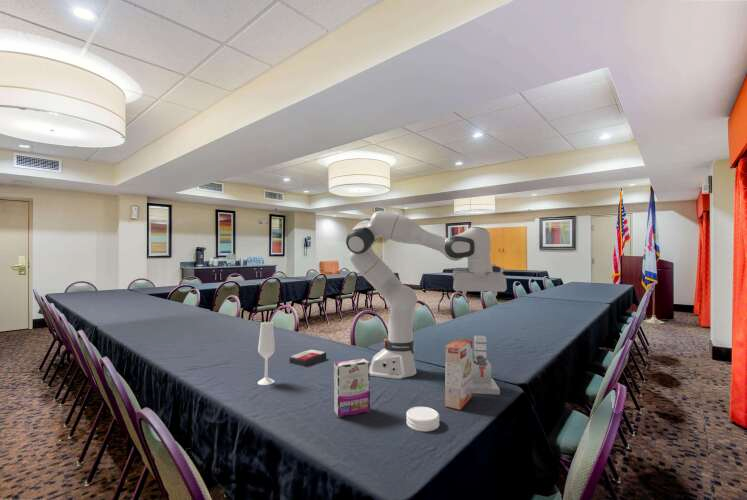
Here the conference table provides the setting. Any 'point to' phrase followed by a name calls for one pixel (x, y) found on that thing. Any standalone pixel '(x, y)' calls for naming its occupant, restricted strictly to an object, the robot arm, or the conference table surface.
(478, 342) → the column
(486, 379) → the housing
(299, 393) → the conference table surface
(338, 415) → the candy bar box
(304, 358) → the flat red white box
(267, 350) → the champagne flute
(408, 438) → the conference table surface
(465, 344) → the cracker box
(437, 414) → the coaster
